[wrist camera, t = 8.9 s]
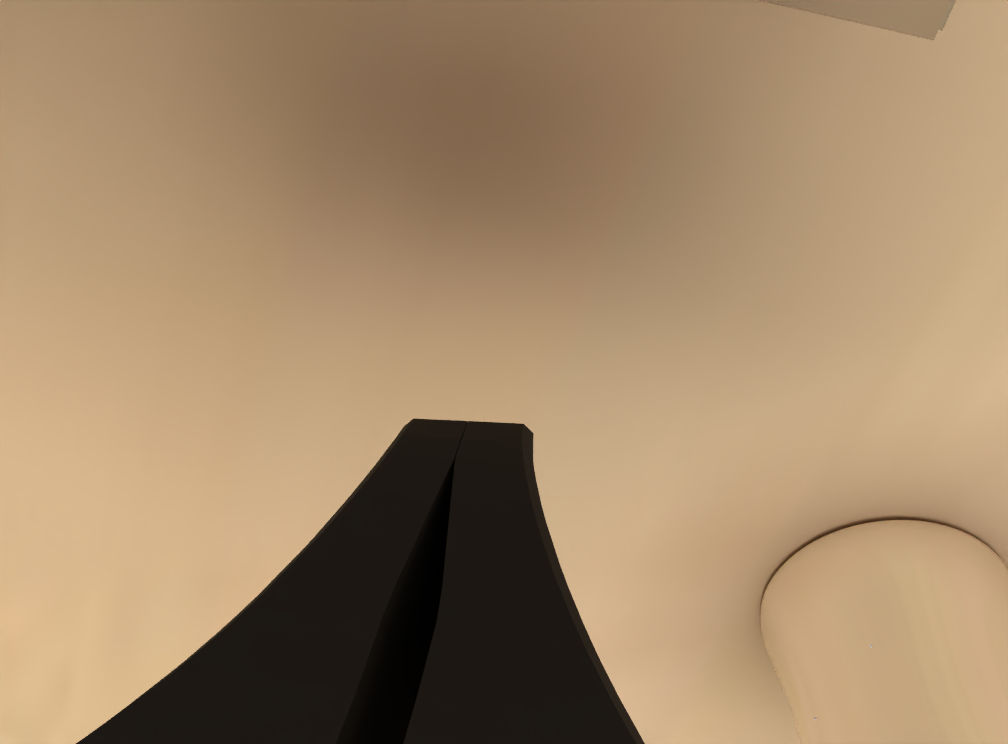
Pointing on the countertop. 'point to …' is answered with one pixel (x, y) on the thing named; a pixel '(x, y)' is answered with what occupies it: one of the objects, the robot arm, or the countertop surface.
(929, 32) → the lid
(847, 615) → the beer glass
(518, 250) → the countertop surface
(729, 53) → the countertop surface
